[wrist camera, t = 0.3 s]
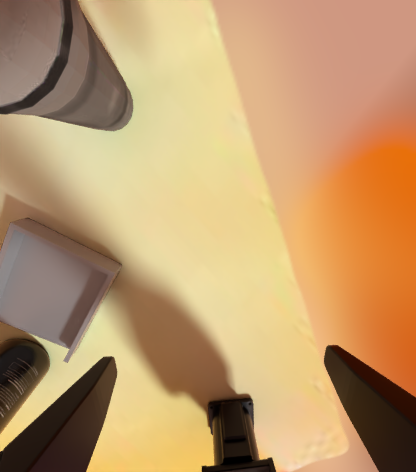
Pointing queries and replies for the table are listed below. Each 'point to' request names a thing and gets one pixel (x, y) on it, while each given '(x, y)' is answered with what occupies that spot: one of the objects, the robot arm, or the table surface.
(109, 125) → the beverage cup
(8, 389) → the supplement bottle
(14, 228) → the tray
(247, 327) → the table surface
